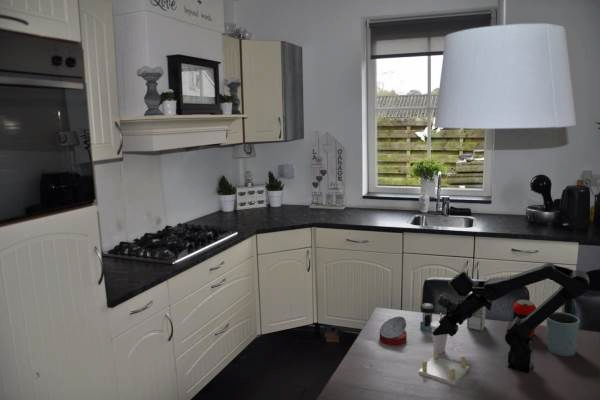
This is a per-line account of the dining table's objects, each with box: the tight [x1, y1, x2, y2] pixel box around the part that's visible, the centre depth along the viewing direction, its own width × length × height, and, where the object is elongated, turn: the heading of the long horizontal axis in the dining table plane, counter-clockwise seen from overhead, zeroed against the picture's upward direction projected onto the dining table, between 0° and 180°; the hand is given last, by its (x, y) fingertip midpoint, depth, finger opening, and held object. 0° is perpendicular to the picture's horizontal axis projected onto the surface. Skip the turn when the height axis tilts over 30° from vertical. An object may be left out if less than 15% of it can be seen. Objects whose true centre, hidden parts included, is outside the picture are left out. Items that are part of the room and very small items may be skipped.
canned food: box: [379, 316, 408, 347], centre depth 185 cm, size 11×10×10 cm
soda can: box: [512, 299, 537, 338], centre depth 187 cm, size 8×8×12 cm
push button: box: [419, 302, 436, 331], centre depth 192 cm, size 7×5×10 cm
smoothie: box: [431, 312, 448, 353], centre depth 175 cm, size 6×6×14 cm
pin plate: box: [418, 349, 470, 386], centre depth 162 cm, size 12×12×4 cm
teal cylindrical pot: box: [546, 311, 580, 357], centre depth 173 cm, size 10×10×12 cm
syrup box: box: [466, 291, 487, 332], centre depth 193 cm, size 6×6×14 cm
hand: (435, 330), depth 176 cm, fingers closed on smoothie, 6 cm apart
